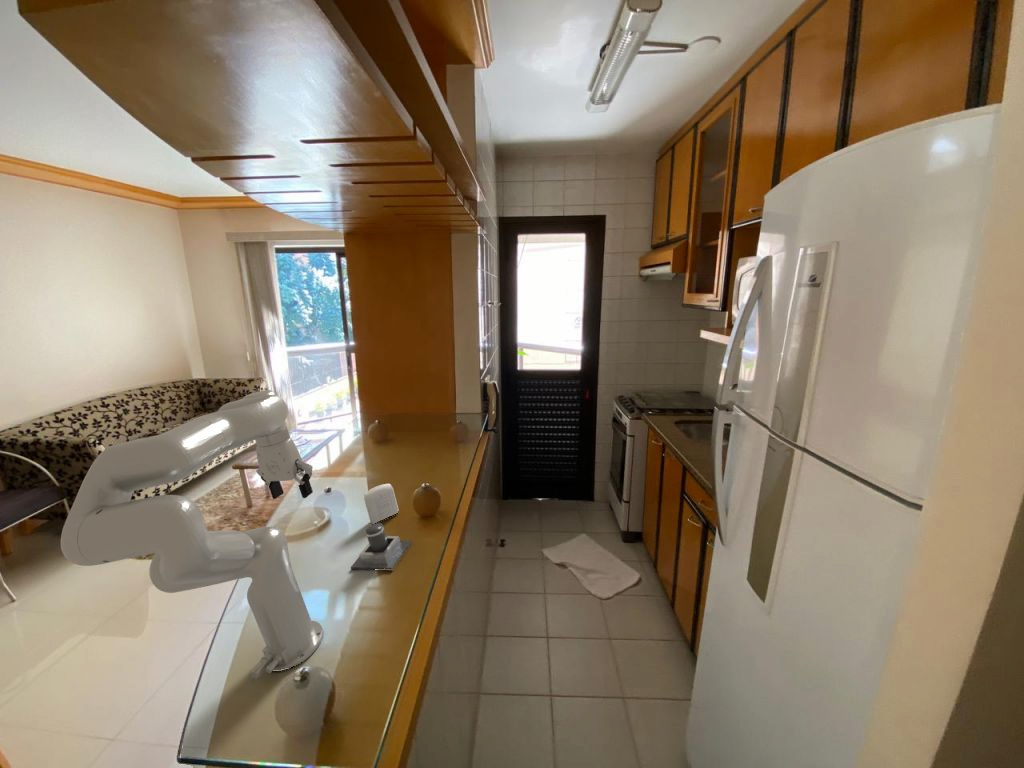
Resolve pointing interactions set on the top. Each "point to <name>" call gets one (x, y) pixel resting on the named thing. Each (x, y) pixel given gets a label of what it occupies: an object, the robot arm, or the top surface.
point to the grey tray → (382, 555)
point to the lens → (377, 538)
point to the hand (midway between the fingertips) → (293, 495)
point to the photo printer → (380, 502)
